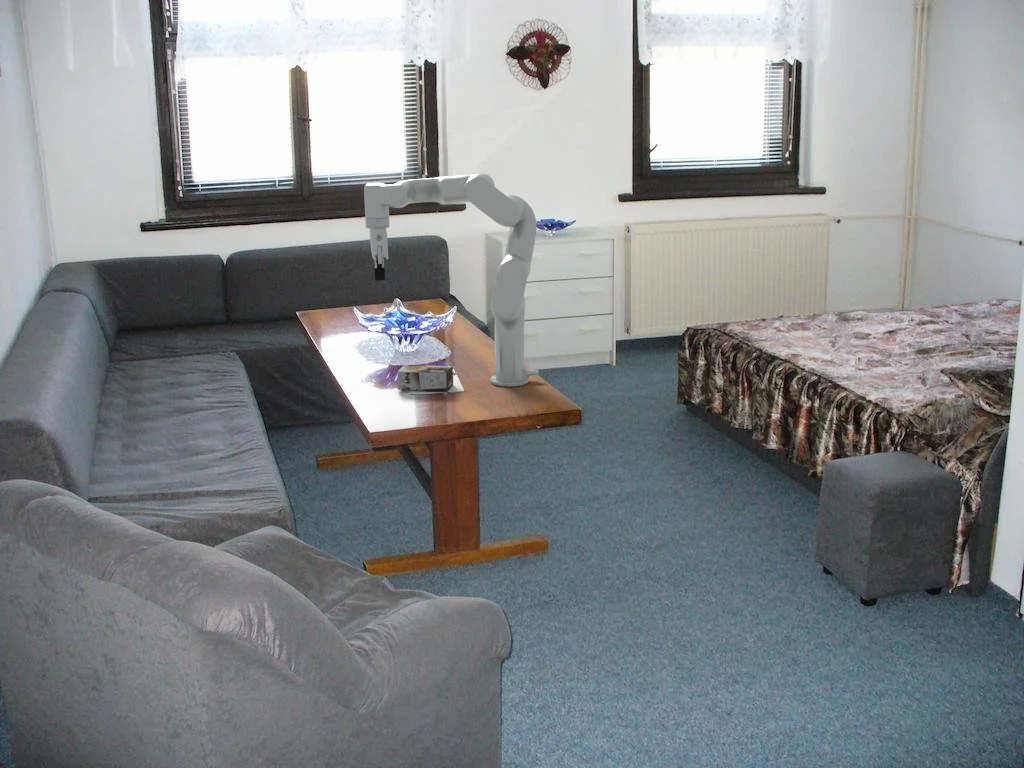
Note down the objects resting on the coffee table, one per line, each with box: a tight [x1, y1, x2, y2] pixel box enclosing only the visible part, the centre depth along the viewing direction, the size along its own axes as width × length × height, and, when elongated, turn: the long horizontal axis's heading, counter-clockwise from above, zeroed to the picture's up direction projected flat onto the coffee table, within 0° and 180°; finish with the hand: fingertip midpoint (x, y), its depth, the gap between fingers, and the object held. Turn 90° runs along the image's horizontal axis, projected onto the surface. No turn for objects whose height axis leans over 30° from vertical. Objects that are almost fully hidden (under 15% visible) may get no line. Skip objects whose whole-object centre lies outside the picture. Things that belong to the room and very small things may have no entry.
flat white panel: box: [408, 374, 465, 395], centre depth 357 cm, size 17×18×1 cm
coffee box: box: [396, 364, 454, 392], centre depth 352 cm, size 9×6×16 cm
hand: (379, 279), depth 356 cm, fingers closed
